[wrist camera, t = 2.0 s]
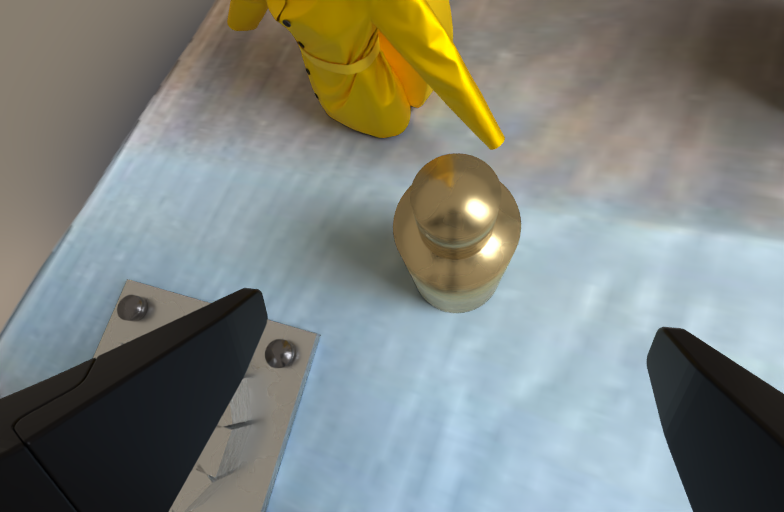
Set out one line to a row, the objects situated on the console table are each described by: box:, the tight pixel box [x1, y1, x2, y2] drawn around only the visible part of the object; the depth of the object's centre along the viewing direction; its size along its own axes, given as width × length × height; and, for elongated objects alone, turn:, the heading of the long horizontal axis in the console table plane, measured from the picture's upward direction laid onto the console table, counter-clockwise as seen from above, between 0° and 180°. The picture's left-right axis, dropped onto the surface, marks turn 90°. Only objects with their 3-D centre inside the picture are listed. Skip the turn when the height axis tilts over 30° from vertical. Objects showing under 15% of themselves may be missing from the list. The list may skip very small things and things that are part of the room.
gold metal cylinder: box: [393, 154, 521, 313], centre depth 16 cm, size 4×4×10 cm
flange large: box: [93, 279, 321, 512], centre depth 19 cm, size 12×12×2 cm
